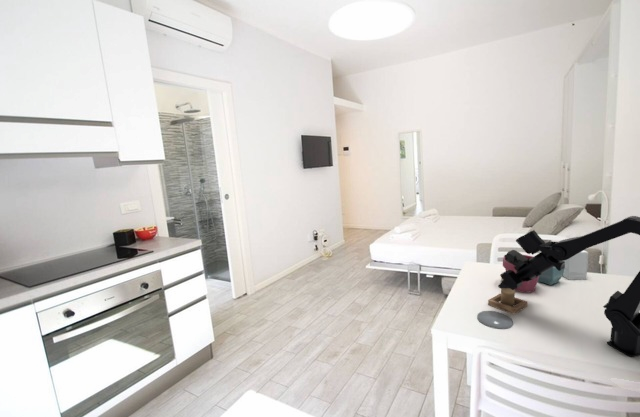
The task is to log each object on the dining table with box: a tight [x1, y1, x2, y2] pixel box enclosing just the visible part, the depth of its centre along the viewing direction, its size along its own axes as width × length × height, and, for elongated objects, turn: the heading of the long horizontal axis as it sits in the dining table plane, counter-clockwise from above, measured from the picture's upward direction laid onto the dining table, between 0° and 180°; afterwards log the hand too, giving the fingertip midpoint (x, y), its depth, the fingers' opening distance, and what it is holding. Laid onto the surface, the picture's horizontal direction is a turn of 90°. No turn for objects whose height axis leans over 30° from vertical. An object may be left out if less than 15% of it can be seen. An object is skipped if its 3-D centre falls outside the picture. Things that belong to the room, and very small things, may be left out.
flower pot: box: [537, 264, 565, 286], centre depth 131 cm, size 9×9×9 cm
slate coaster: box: [477, 310, 514, 330], centre depth 106 cm, size 11×11×1 cm
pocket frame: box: [487, 292, 528, 315], centre depth 115 cm, size 9×9×2 cm
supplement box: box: [562, 250, 589, 281], centre depth 134 cm, size 7×7×13 cm
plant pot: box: [502, 254, 539, 293], centre depth 127 cm, size 14×14×13 cm
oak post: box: [500, 276, 516, 307], centre depth 114 cm, size 4×4×12 cm
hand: (504, 284), depth 115 cm, fingers open, 7 cm apart
